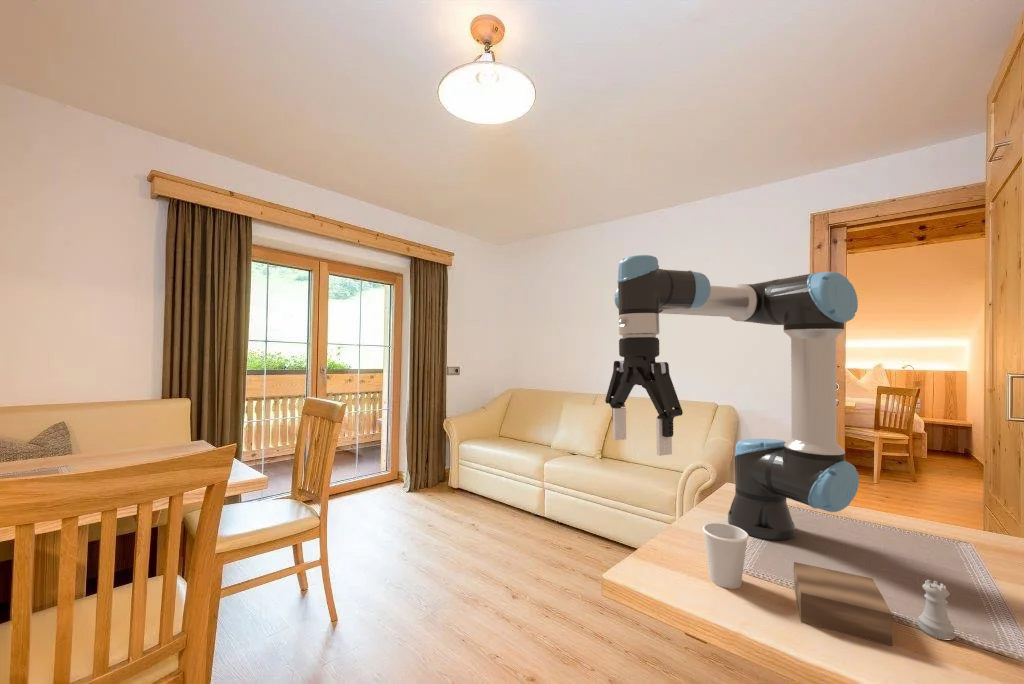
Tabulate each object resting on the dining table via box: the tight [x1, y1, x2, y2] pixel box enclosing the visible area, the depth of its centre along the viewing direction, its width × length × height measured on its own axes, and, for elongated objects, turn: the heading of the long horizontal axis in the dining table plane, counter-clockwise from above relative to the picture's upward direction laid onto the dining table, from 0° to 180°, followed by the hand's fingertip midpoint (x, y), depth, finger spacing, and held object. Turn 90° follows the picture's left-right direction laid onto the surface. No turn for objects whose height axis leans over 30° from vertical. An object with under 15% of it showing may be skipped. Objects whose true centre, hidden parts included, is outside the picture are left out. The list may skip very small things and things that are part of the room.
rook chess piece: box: [917, 579, 956, 640], centre depth 70 cm, size 4×4×8 cm
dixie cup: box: [702, 522, 750, 590], centre depth 85 cm, size 8×8×10 cm
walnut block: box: [793, 561, 894, 647], centre depth 75 cm, size 12×12×5 cm
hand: (640, 446), depth 81 cm, fingers open, 13 cm apart
